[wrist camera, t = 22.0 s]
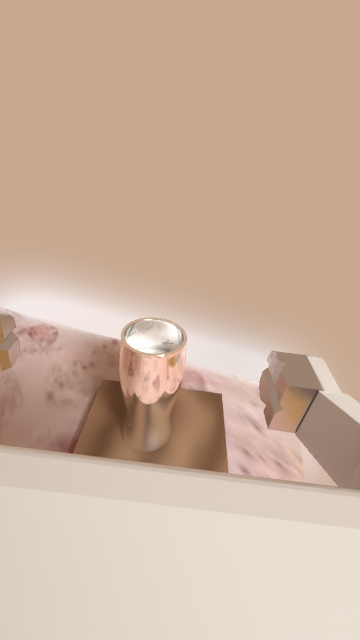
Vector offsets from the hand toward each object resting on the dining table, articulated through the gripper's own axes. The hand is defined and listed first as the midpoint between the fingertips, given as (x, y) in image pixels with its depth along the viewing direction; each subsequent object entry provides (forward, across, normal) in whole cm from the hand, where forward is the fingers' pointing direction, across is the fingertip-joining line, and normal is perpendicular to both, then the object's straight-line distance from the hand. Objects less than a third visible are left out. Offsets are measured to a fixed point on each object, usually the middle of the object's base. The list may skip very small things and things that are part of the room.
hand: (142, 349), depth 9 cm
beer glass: (+16, 0, +26) cm, 31 cm away
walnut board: (+16, -1, +28) cm, 32 cm away
